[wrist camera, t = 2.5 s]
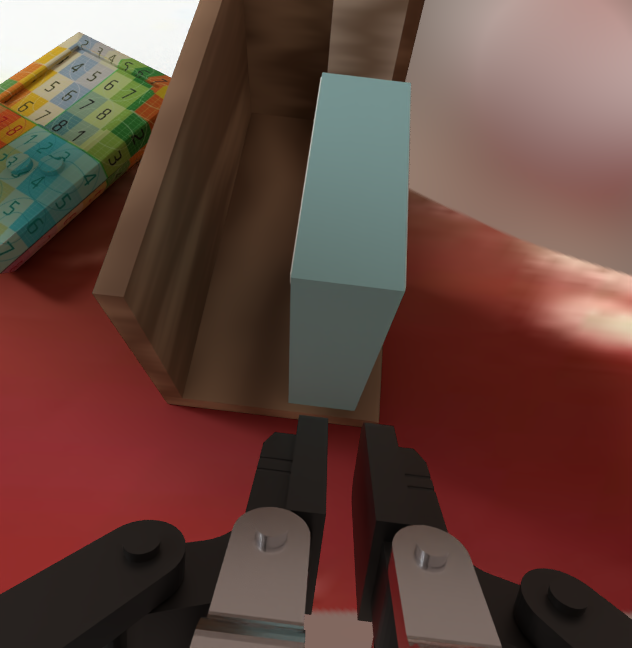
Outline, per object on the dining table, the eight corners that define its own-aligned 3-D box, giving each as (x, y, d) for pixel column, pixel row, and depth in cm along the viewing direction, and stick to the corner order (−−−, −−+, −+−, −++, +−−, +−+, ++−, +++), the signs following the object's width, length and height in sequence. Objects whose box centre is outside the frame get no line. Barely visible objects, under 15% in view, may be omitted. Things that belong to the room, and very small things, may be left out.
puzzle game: (-149, 170, 32) (75, 20, 40) (-99, 217, 36) (95, 72, 44) (-21, 254, 30) (189, 77, 38) (17, 293, 34) (198, 126, 42)
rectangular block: (287, 402, 30) (289, 277, 17) (308, 253, 35) (321, 72, 22) (355, 411, 30) (406, 291, 17) (366, 260, 35) (411, 83, 22)
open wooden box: (167, 403, 31) (82, 279, 18) (241, 116, 43) (221, -84, 30) (374, 428, 31) (439, 322, 18) (390, 134, 43) (436, -58, 30)
